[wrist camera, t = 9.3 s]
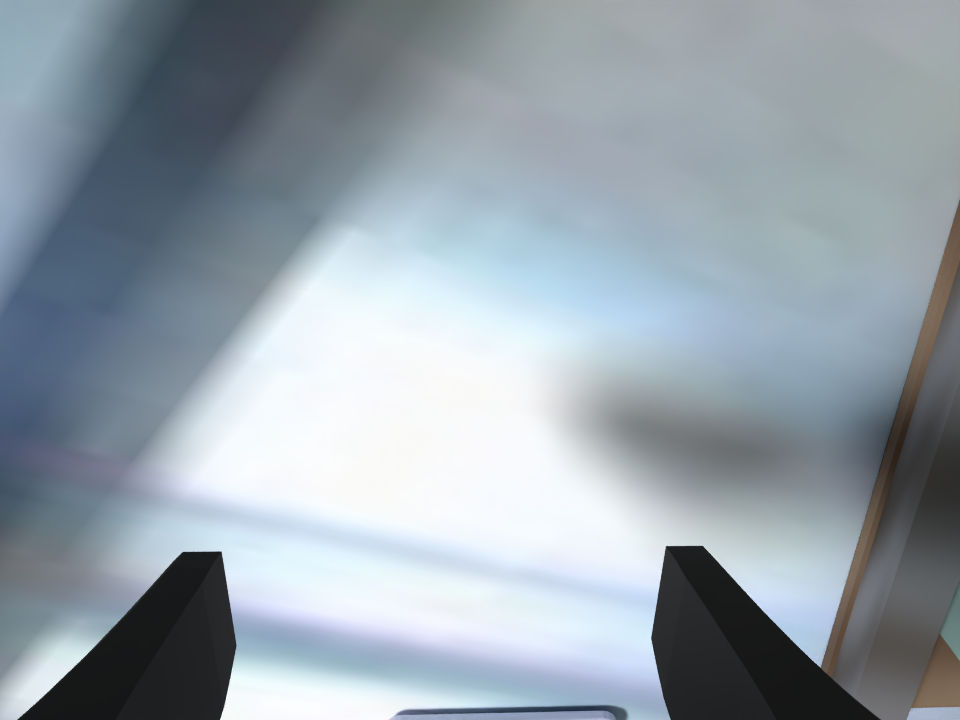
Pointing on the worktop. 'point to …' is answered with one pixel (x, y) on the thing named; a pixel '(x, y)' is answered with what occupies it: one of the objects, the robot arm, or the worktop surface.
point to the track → (910, 533)
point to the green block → (953, 624)
